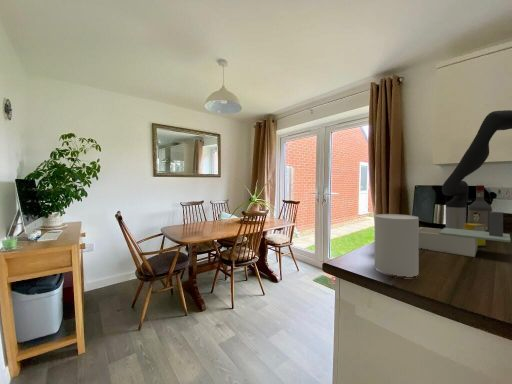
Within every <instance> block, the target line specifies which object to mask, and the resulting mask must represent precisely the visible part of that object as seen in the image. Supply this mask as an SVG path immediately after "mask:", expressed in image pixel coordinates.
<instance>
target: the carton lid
mask: <svg viewBox="0 0 512 384" xmlns="http://www.w3.org/2000/svg"><path fill="white" fill-rule="evenodd" d="M441 229H442V230H441V231H440V232H439V234H442V235H451V236H460V237H468V238H477V239H486V240H487V241H494V242H495V241H496V242H503V243H504V242H505V243H511V235H510V233H504V212H501V211H492V212H489V232H484V231H473V230H463V229H453V228H446V227H443V228H441Z"/></svg>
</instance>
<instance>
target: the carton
mask: <svg viewBox="0 0 512 384" xmlns="http://www.w3.org/2000/svg"><path fill="white" fill-rule="evenodd" d="M442 229H443V228H435V227H434V228H433V227H422V226H420V227H419V249H421V248H422V249H421V250H427V249H428V251H433V252H441V253H447V254H452V255H458V256H466V257H471V258H475V257H476V254H477V252H478V247H477V238H468V237H460V236H451V235H442V234H439V232H440V231H441V230H442Z"/></svg>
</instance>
